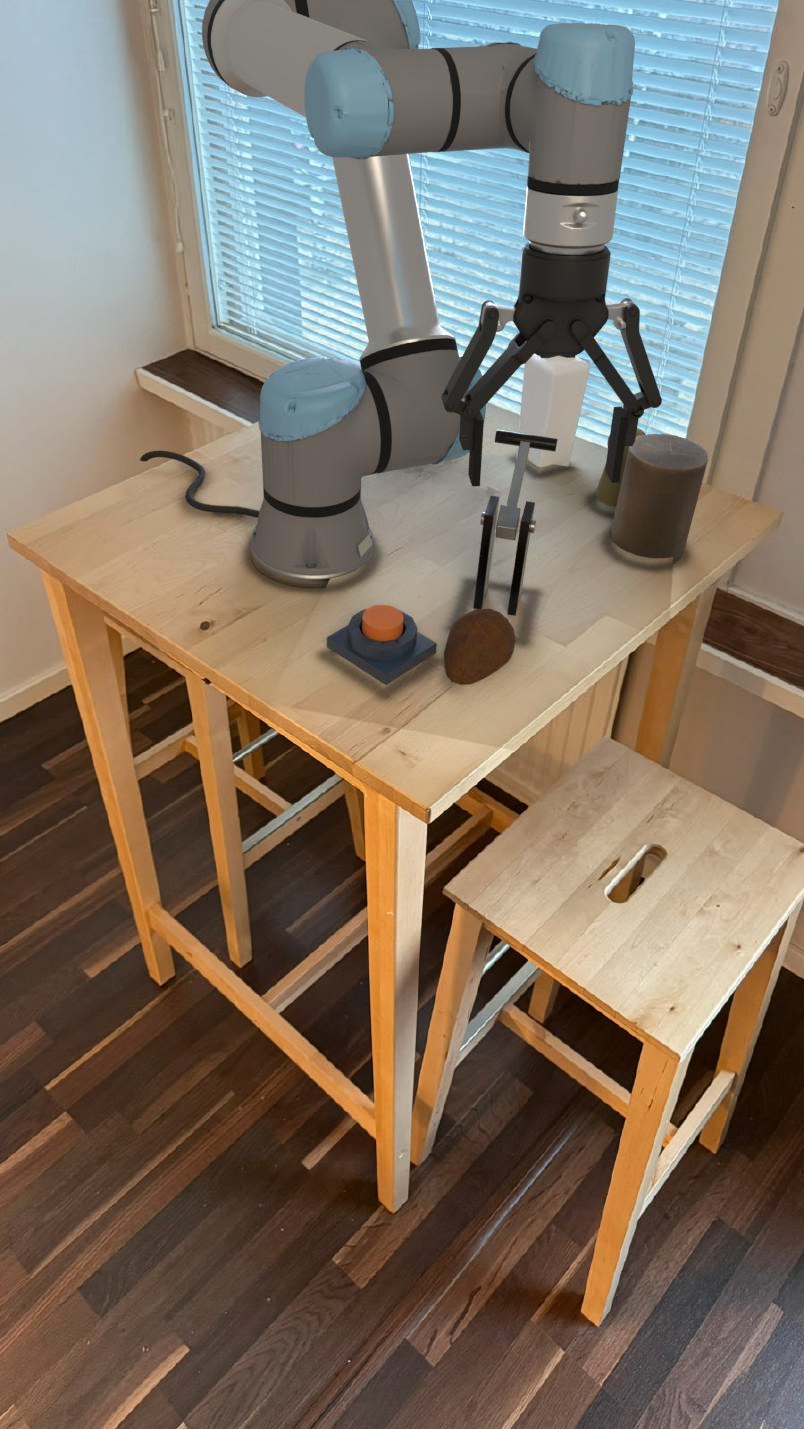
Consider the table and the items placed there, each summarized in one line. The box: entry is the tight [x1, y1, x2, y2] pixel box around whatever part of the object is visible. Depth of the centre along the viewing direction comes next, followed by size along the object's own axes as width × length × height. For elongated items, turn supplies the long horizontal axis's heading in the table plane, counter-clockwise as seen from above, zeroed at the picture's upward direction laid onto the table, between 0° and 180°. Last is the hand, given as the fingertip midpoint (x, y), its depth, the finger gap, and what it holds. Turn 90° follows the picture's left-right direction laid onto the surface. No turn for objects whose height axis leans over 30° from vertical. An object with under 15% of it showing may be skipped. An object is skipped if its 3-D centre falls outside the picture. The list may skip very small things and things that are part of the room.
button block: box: [326, 608, 438, 686], centre depth 112 cm, size 9×8×4 cm
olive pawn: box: [594, 427, 647, 507], centre depth 138 cm, size 6×6×11 cm
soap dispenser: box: [515, 354, 591, 468], centre depth 142 cm, size 6×6×22 cm
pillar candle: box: [609, 433, 709, 564], centre depth 128 cm, size 10×10×15 cm
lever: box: [494, 429, 558, 541], centre depth 115 cm, size 13×7×2 cm, turn 166°
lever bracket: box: [472, 495, 537, 617], centre depth 117 cm, size 10×8×14 cm
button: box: [362, 604, 404, 642], centre depth 110 cm, size 4×4×2 cm
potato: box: [443, 608, 516, 686], centre depth 111 cm, size 7×10×7 cm
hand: (543, 479), depth 100 cm, fingers open, 13 cm apart
